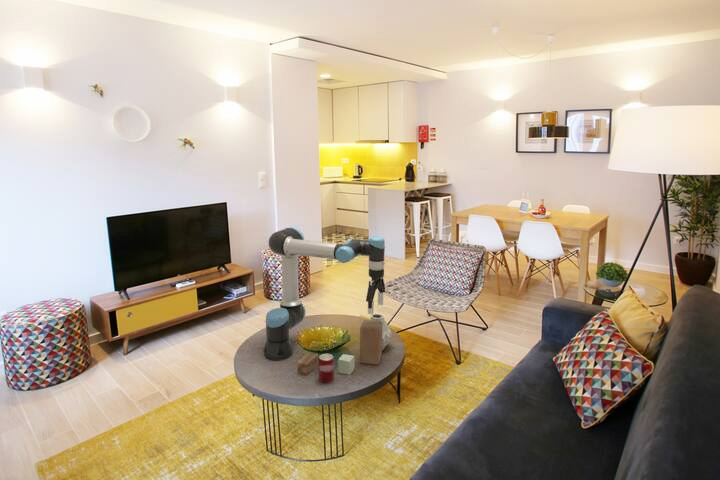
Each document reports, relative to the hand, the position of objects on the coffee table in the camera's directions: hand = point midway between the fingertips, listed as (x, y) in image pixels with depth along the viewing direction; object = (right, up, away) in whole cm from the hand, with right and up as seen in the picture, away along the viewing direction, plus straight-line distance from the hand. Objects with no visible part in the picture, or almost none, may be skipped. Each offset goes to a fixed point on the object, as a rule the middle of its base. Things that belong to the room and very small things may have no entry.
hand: (375, 309), depth 232 cm
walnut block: (-33, -29, -3) cm, 44 cm away
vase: (+1, -24, +20) cm, 32 cm away
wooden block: (-2, -27, +7) cm, 28 cm away
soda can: (-24, -32, -13) cm, 42 cm away
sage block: (-14, -30, -4) cm, 33 cm away
